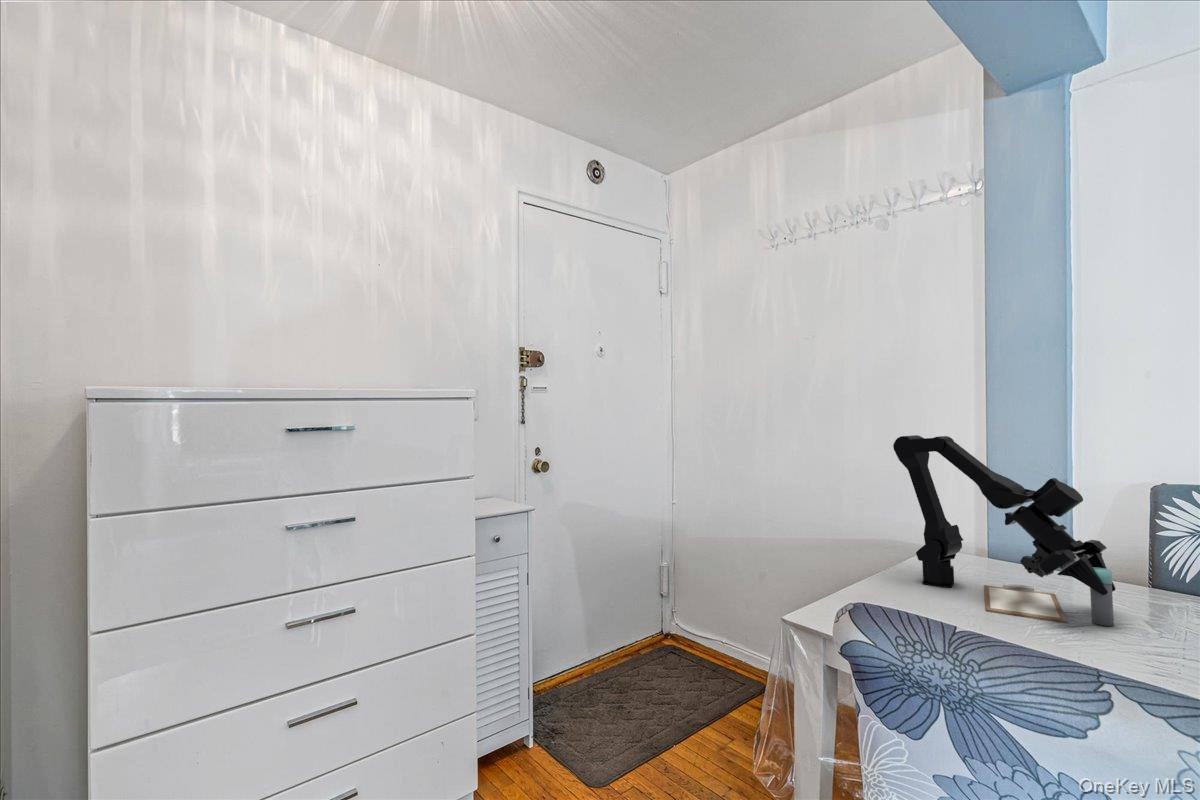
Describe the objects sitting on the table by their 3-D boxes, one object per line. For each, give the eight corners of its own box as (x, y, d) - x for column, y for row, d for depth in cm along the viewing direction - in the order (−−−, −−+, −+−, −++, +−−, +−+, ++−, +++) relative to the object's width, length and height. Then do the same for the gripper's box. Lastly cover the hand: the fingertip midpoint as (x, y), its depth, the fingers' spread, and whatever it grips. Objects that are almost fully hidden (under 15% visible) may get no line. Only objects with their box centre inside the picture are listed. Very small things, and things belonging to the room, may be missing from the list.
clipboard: (985, 611, 122) (985, 603, 122) (983, 586, 139) (983, 580, 139) (1066, 623, 114) (1066, 615, 114) (1055, 595, 131) (1054, 588, 131)
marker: (1093, 623, 113) (1090, 570, 113) (1090, 618, 116) (1087, 566, 116) (1115, 627, 111) (1113, 572, 111) (1112, 621, 114) (1109, 568, 114)
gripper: (1034, 544, 132) (1095, 604, 122) (994, 555, 123) (1056, 620, 113) (1073, 516, 125) (1141, 577, 115) (1034, 526, 116) (1103, 592, 106)
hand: (1109, 592), depth 112 cm, fingers closed on marker, 3 cm apart
